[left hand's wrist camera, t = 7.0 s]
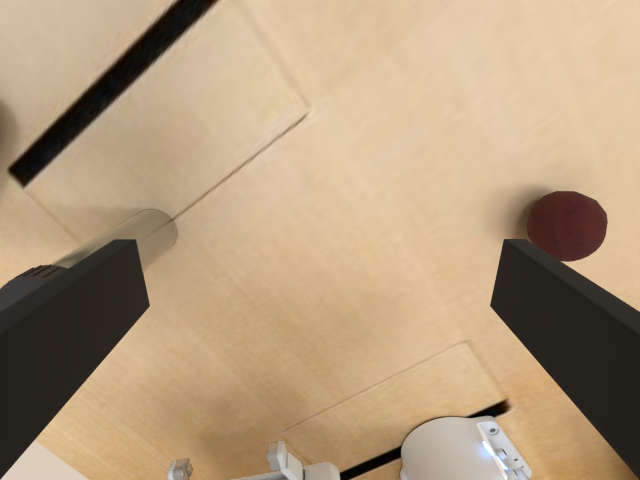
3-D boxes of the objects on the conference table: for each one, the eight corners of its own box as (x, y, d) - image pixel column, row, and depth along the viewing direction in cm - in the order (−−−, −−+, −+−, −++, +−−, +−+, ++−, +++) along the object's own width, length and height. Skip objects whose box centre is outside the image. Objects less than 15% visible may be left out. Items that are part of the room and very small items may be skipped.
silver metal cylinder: (132, 205, 40) (-1, 275, 24) (177, 212, 41) (77, 285, 24) (134, 247, 42) (12, 338, 26) (177, 253, 43) (84, 347, 26)
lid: (13, 258, 25) (-15, 272, 23) (98, 269, 25) (79, 284, 23) (26, 327, 27) (1, 345, 25) (104, 337, 28) (87, 356, 26)
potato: (528, 256, 43) (566, 283, 36) (504, 206, 40) (539, 225, 34) (586, 225, 41) (637, 247, 35) (564, 171, 39) (614, 184, 32)
